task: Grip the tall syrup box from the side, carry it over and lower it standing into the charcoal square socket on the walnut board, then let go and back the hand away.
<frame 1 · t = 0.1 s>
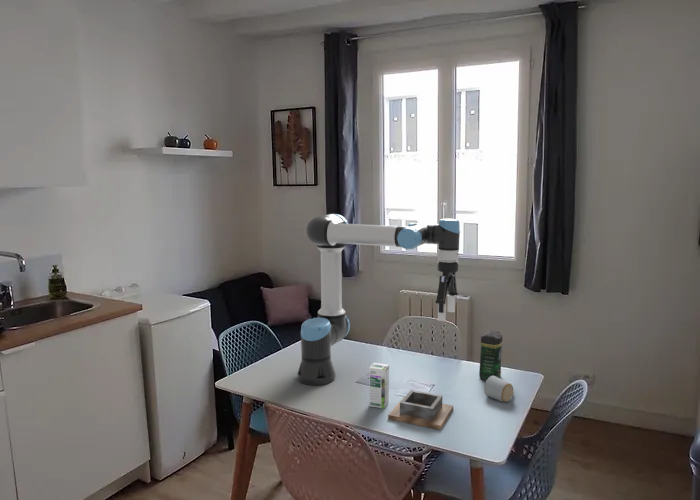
hand: (446, 316, 200), 28 cm above the table, tool pointing down, fingers open, 13 cm apart
coffee jar: (490, 377, 213), on the table
socket board: (421, 414, 181), on the table
syrup box: (378, 405, 189), on the table
ceramic mug: (500, 398, 194), on the table
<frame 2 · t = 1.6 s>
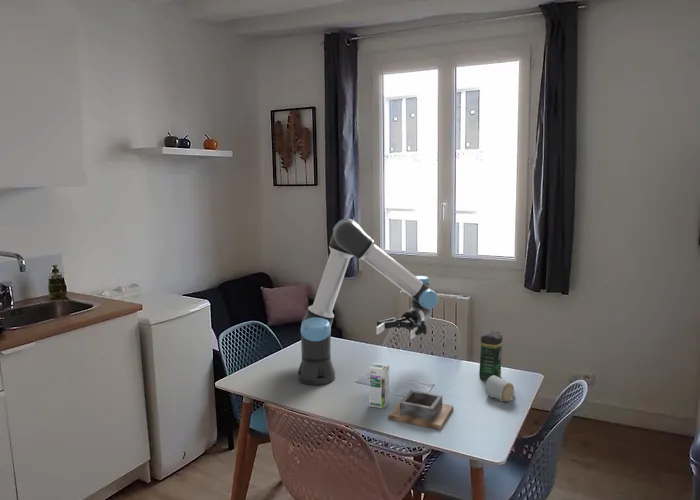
hand: (393, 333, 199), 22 cm above the table, tool horizontal, fingers open, 13 cm apart
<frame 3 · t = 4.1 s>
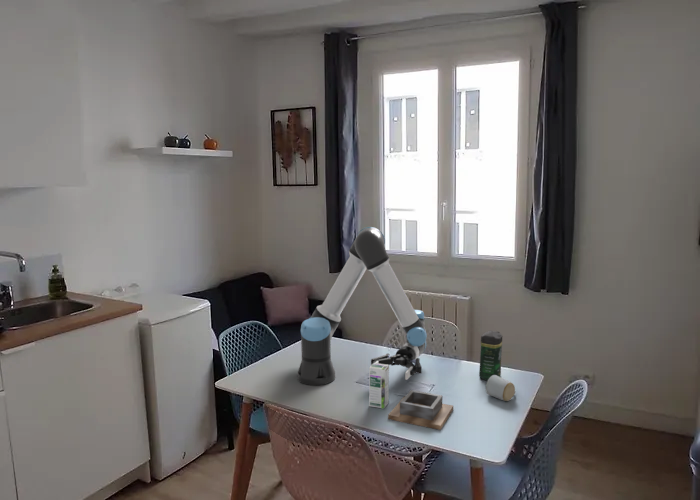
hand: (388, 373, 194), 9 cm above the table, tool horizontal, fingers open, 13 cm apart
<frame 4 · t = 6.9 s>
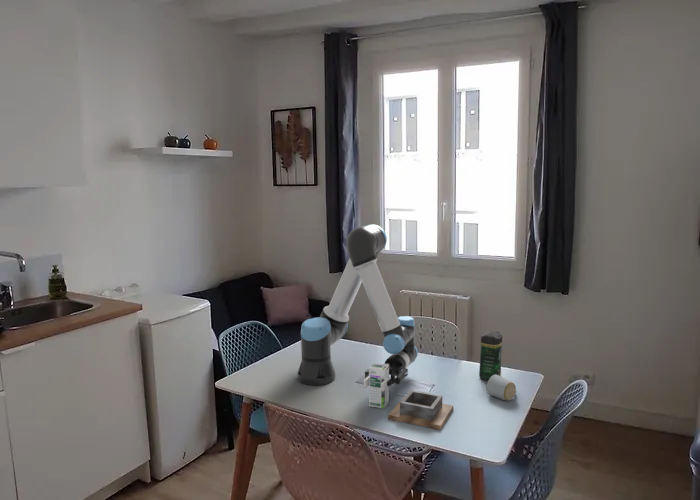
hand: (373, 385, 183), 9 cm above the table, tool horizontal, fingers closed on syrup box, 6 cm apart
syrup box: (378, 405, 189), on the table, touching gripper
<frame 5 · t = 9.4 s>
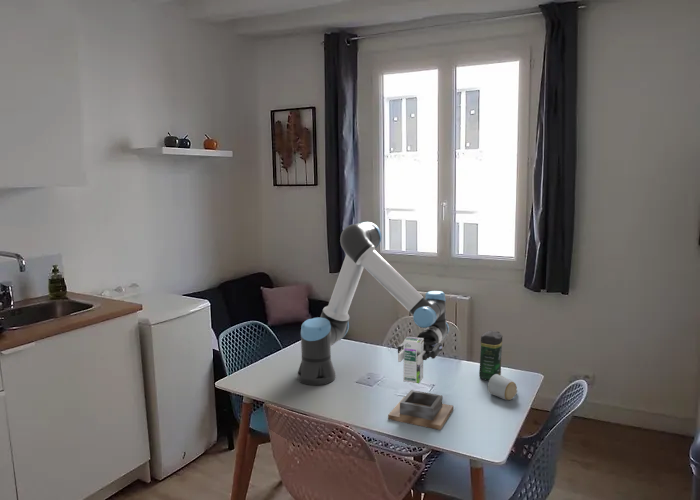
hand: (408, 359, 175), 21 cm above the table, tool horizontal, fingers closed on syrup box, 6 cm apart
syrup box: (413, 380, 181), point 11 cm above the table, touching gripper
when the fingers open (12 cm above the table, at t = 12.3 s): syrup box drops 1 cm, resting on socket board.
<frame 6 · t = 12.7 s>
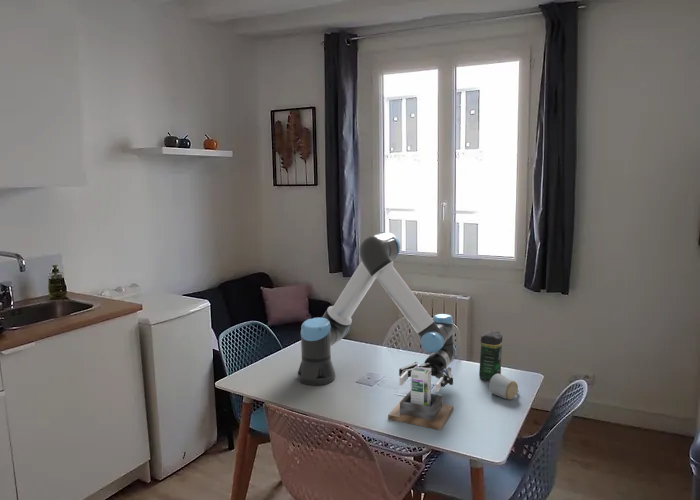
hand: (418, 384, 176), 12 cm above the table, tool horizontal, fingers open, 12 cm apart
syrup box: (420, 410, 181), point 1 cm above the table, touching socket board
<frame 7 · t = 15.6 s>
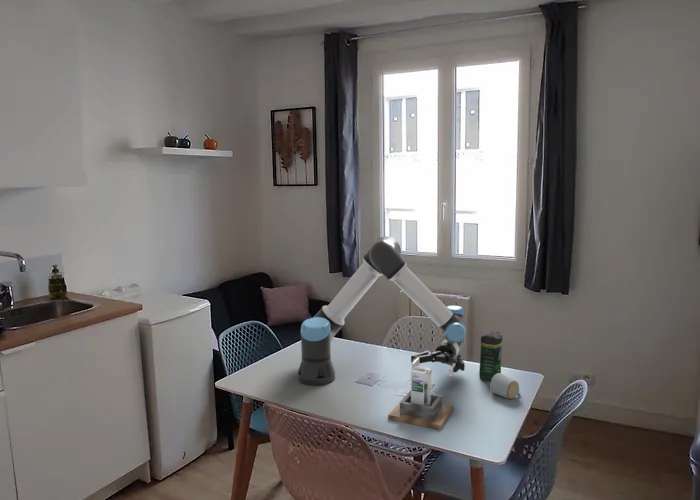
hand: (430, 370, 189), 12 cm above the table, tool horizontal, fingers open, 13 cm apart
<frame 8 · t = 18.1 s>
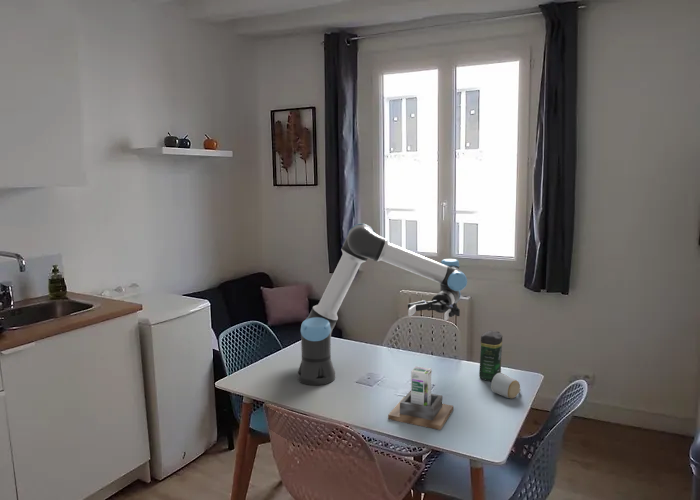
hand: (426, 314, 194), 30 cm above the table, tool horizontal, fingers open, 13 cm apart
at the end: syrup box 0.2 cm off-centre on the socket board, point 1.3 cm above the socket board's base; syrup box tilted 0°; the gripper is holding nothing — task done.
